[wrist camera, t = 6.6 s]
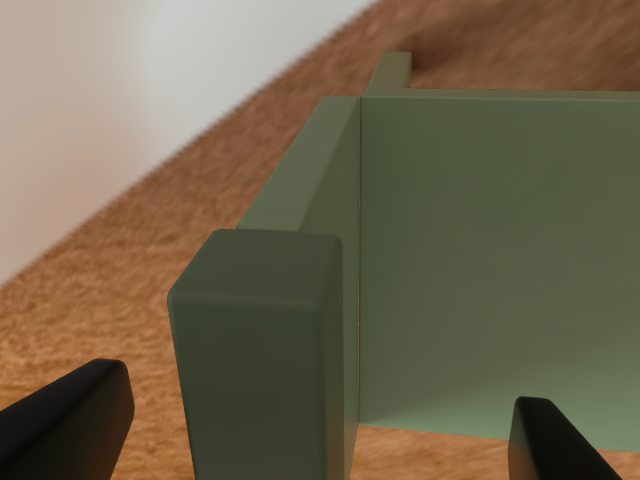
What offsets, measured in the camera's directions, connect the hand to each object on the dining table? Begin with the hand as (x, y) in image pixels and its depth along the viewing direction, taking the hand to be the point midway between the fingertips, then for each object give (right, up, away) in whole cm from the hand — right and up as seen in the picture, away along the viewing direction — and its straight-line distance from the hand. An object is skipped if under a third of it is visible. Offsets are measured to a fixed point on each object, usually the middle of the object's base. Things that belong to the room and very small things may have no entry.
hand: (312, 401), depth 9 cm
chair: (+5, +3, +6) cm, 9 cm away
